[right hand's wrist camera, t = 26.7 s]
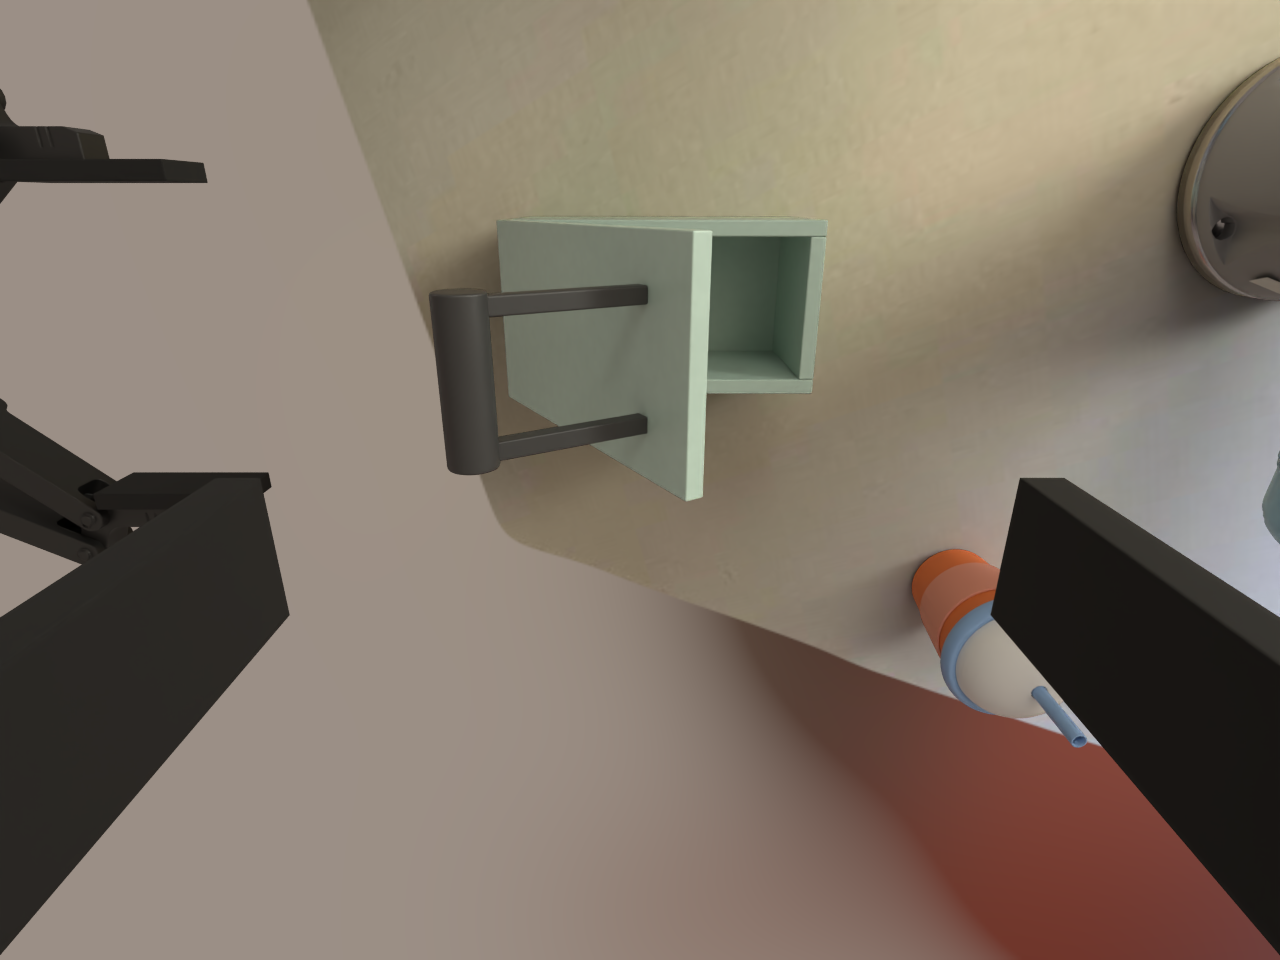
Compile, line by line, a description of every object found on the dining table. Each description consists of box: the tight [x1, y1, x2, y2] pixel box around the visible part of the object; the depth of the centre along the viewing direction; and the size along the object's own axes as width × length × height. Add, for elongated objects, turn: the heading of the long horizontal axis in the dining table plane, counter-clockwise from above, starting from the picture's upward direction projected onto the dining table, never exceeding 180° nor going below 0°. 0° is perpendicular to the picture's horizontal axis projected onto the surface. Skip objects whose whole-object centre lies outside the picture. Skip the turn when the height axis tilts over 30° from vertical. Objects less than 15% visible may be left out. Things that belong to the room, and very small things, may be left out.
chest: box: [507, 216, 828, 394], centre depth 44 cm, size 17×10×10 cm, turn 90°
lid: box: [429, 220, 712, 501], centre depth 30 cm, size 18×10×9 cm
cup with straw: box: [912, 549, 1087, 747], centre depth 48 cm, size 9×9×18 cm
